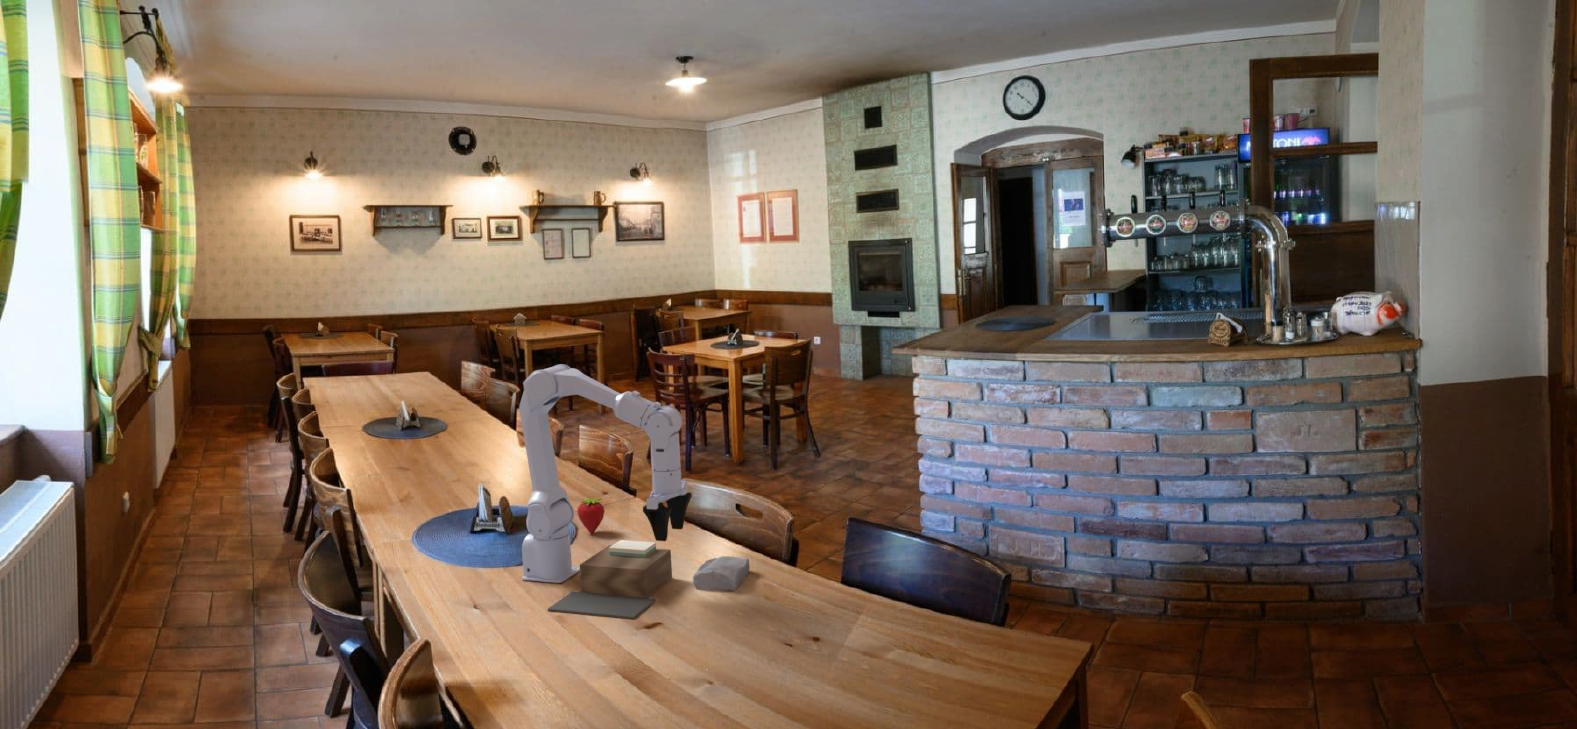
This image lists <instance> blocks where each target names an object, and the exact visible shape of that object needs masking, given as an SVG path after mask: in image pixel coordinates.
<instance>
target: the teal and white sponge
mask: <svg viewBox="0 0 1577 729" xmlns="http://www.w3.org/2000/svg"><path fill="white" fill-rule="evenodd" d="M656 549H657V542H654V541H640V540H627V539H626V540H625V539H624V540H623V539H620V540H618V541H617V542H616V543H614V544H612V546H611V547H609V555H617V556H631V557H644V558H645V557H647V556H648V555H649V554H651V553H652V552H653V551H655V550H656Z"/></svg>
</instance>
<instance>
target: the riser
mask: <svg viewBox="0 0 1577 729" xmlns="http://www.w3.org/2000/svg"><path fill="white" fill-rule="evenodd" d="M612 545H613V544H612ZM612 545H611V544H610V545H608V546H606V547H605V548H603V549H602V550H601V549H600V551H598V552H597V553H595V554H594V555H593V556H590V557H589V558H588V559H586V560H585V561H583V562H582V563H580V564H579V568H580V571H579V574H580V576H579V577H580V589H581V591H580V592H586V593H597V594H608V595H619V596H631V597H642V598H651V596H652V595H654V594H655V593H656V592H657V591H658V590H660V589H661V588H662V587H663V586H664V585H666V584H667V583H668V582H669V581H671V579H673V572H672V571H673V570H672V569H673V568H672V552H671V550H672V549H666V548H656V550H655V551H653V552H652V553H651V554H649V555H648V556H647V557H645V558H644V557H631V556H617V555H609V547H611V546H612Z"/></svg>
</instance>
